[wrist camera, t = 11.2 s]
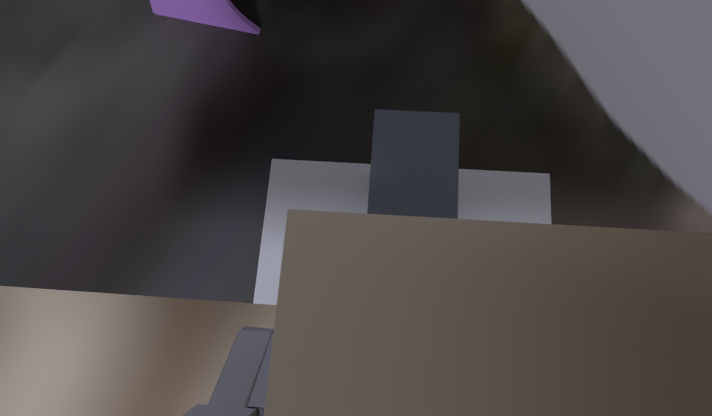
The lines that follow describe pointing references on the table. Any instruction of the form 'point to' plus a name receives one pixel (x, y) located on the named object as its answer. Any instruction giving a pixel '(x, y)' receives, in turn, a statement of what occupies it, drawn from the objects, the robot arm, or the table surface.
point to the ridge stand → (396, 186)
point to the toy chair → (206, 13)
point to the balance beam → (395, 327)
